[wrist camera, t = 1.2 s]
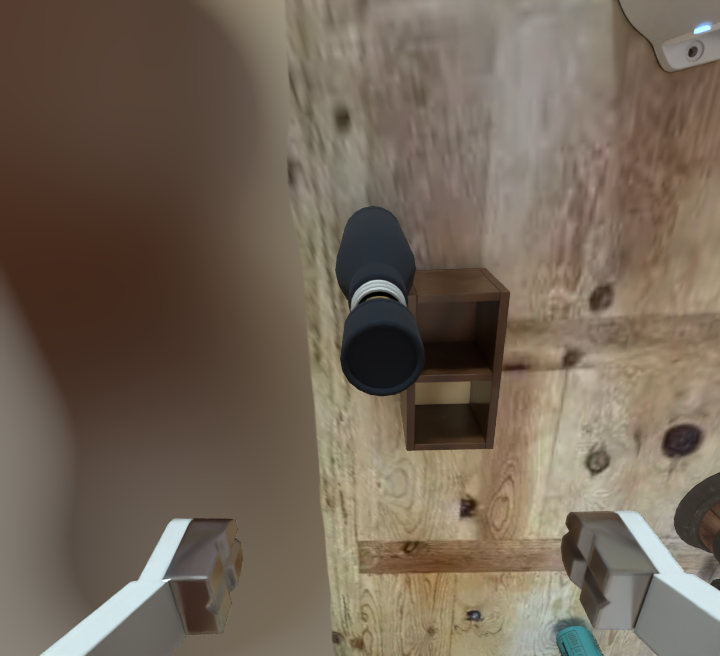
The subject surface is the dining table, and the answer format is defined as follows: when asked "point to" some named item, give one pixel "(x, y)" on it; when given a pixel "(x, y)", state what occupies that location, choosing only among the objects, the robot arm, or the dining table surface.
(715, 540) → the tankard
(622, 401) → the dining table surface
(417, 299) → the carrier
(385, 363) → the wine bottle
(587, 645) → the beverage bottle
